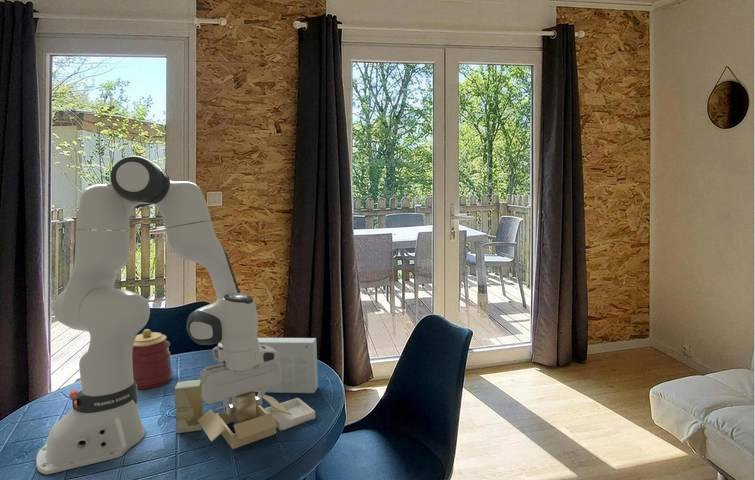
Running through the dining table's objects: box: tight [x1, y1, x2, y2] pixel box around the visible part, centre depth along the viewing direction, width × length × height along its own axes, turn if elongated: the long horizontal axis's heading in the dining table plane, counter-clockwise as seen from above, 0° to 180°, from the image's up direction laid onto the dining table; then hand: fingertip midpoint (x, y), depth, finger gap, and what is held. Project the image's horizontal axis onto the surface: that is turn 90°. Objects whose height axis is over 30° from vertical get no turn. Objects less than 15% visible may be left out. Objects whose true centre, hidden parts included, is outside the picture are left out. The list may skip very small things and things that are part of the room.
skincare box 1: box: [174, 379, 204, 434], centre depth 116 cm, size 6×4×12 cm
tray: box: [263, 397, 316, 432], centre depth 121 cm, size 10×10×2 cm
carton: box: [197, 394, 291, 450], centre depth 114 cm, size 20×19×6 cm
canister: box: [132, 328, 173, 390], centre depth 145 cm, size 13×13×18 cm
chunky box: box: [231, 391, 257, 431], centre depth 114 cm, size 4×4×10 cm
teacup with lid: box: [211, 343, 224, 363], centre depth 155 cm, size 12×9×12 cm
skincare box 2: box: [253, 337, 319, 394], centre depth 137 cm, size 21×6×16 cm, turn 84°
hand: (244, 408), depth 114 cm, fingers open, 6 cm apart
